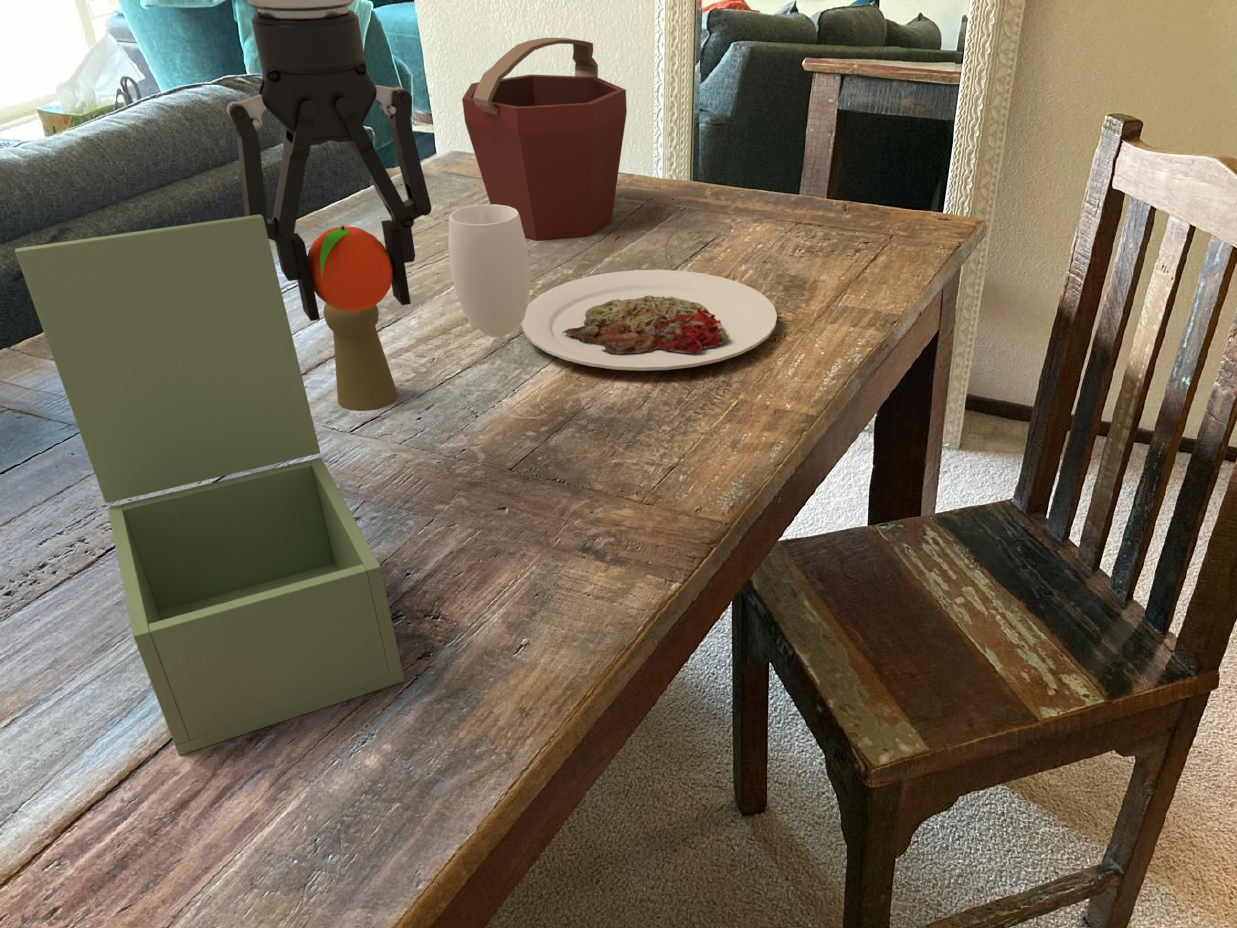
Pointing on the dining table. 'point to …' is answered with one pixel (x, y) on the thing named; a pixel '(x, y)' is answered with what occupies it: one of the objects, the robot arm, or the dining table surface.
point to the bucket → (548, 142)
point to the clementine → (350, 268)
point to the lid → (173, 352)
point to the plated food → (649, 320)
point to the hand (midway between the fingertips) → (357, 306)
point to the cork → (359, 359)
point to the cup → (490, 266)
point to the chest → (253, 602)
